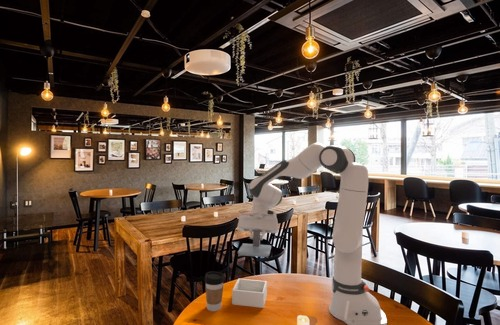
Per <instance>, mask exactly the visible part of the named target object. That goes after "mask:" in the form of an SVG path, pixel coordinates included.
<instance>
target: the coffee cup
mask: <svg viewBox="0 0 500 325" xmlns="http://www.w3.org/2000/svg"><path fill="white" fill-rule="evenodd" d="M224 282H225V276H224V274H223V273H222V272H220V271H208V272H206V273H205V277H204V283H205V297H206V309H207V310H208V311H210V312H218V311H219V310H221V308H222V302H223V301H222V300H223V294H224V293H223V292H224Z"/></svg>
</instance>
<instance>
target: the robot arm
mask: <svg viewBox="0 0 500 325" xmlns="http://www.w3.org/2000/svg"><path fill="white" fill-rule="evenodd" d="M321 167H323V168H325V169H326V170H327V171H331V172H332V173H335V175H336V174H337V175H338V174H339V176H340V184H339V192H338V193H339V194H338V199H337V200H338V202H337V207H336V213H335V218H334V223H333V230H332V231H333V232H332V243H333V245H334V257H333V276H332V279H331V283H332V284H331V290H332V297H331V300H330V301H331V302H330V304H329V307H328V311H329V313H330V314H331V315H332V316H333V317H335V318H336V319H338V320H340V321H342V322H343V323H345V324H347V325H388V319H387V316H386V313H385V312H384V311H383V310H382V309H381V306H380V303H379V301H378V300H377V298H376V297H375V296H374V295H372V294H371V293H370V292H369V291H370V289H371V288H370V287H369V286H368V284H367V283H366V282H365V281H364V280H363V279H362V262H363V260H362V259H363V258H362V255H363V235H364V234H363V232H364V231H363V230H364V229H363V228H364V222H365V216H366V207H367V202H368V201H367V200H368V199H367V198H368V191H369V170H368V168H367V166H365V165H363V164H361V163H357V162H356V154H355V153H354V151H353V150H351V149H350V148H348V147H345V146H343V145H338V144H337V145H336V144H329V145H328V146H327V145H326V146H324V144H322V143H320V142H314V143H311V144H310V145H309V146H307V147H306V148H305V149H303V150H302V151H300V153H299V154H298V155H296V156H294V157H293V158H290V159H283V160H282V161H279V162H278V163H277V164H275V165H274V166H272V167H271V168H270V169H268V170H267V171H265V172H264V173H262V174H261V175H259V176H258V177H255V178H254V179H252V180H251V181H250V183H249V185H248V191H249V193H250V195H251V196H252V197H253V199H252V206H251V213H242V214H240V215H239V216H238V223H237V230H238V231H239V232H248V233H249V235H250V237H249V238H250V240H253V231H260V233H261V234H260V237H259V239H260V241H263V240H264V237H265V235H267V234H266V233H268V234H269V233H270V234H277V233H278V232H279V222H278V218H277V213H276V211H274V210H272V209H271V208H274V207H276V206H278V205H280V204H281V203H282V200H283V191H282V190H281V189H280V188H278V187H277V186H275V185H273V184H272V183H271V182H272V181H274V180H275V179H277V178H279V177H283V176H285V177H290V178H294V179H298V180H299V179H306V178H309V177H310V176H311V175H313V174H314V173H315V172H316V171H317V170H318V169H319V168H321ZM269 208H270V209H271V210H270V209H269Z"/></svg>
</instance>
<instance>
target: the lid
mask: <svg viewBox="0 0 500 325" xmlns="http://www.w3.org/2000/svg"><path fill="white" fill-rule="evenodd" d="M252 235H253V239H252V243H242V245H241V246H240V247H239V250H238V251H237V254H238V255H240V256H247V257H257V258H258V257H260V258H267V257H269V256H270V254H271V249H272V245H270V244H261V240H260V239H259V237H260V235H261V232H260V231H253V232H252Z"/></svg>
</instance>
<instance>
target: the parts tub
mask: <svg viewBox="0 0 500 325" xmlns="http://www.w3.org/2000/svg"><path fill="white" fill-rule="evenodd" d="M231 293H232V294H231V296H232V297H231V304H232V305H237V306H245V307H254V308H263V309H264V308H265V304H266V299H267V297H268V296H267V295H268V280H257V279H249V278H239V277H238V279H237V280H236V282H235V284H234V287H233V288H232V290H231Z"/></svg>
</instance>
